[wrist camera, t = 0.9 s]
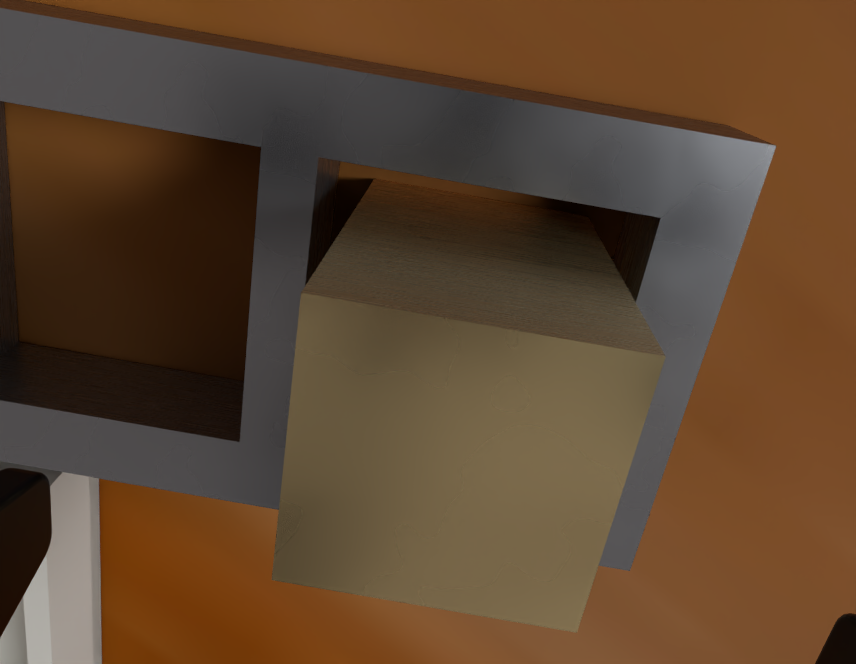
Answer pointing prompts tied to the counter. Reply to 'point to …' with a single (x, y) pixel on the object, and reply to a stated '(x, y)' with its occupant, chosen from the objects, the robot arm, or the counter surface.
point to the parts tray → (62, 582)
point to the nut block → (462, 408)
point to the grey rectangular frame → (312, 228)
